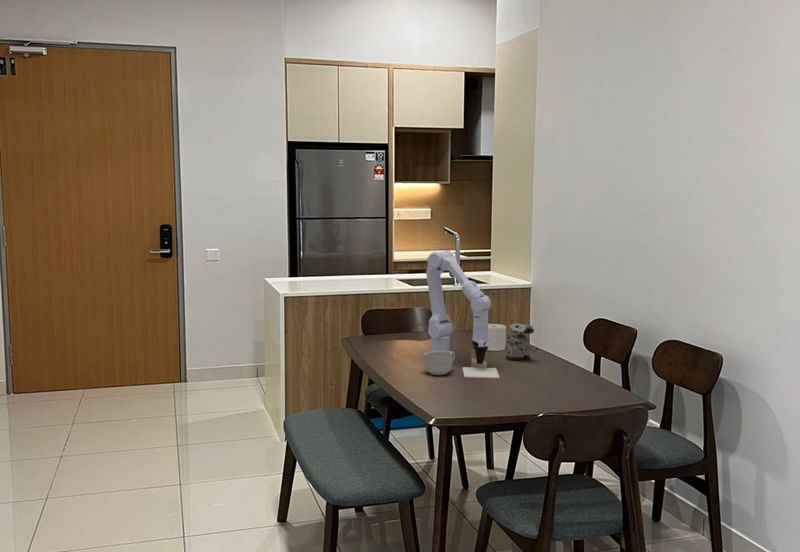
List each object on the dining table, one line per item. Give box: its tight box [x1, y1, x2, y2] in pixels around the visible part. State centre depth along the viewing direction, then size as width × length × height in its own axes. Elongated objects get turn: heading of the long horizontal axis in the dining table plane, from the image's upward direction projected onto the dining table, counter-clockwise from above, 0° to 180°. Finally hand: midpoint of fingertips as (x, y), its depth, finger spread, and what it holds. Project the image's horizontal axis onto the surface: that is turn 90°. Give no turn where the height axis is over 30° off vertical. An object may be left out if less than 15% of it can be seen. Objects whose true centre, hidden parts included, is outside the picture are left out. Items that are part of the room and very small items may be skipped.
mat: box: [462, 366, 500, 379], centre depth 292 cm, size 14×13×1 cm
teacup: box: [423, 350, 456, 376], centre depth 290 cm, size 14×11×8 cm
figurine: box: [505, 322, 538, 361], centre depth 313 cm, size 9×12×15 cm
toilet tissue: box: [485, 323, 507, 352], centre depth 335 cm, size 11×12×10 cm
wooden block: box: [470, 349, 488, 368], centre depth 300 cm, size 2×6×7 cm, turn 88°
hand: (479, 361), depth 300 cm, fingers open, 7 cm apart
